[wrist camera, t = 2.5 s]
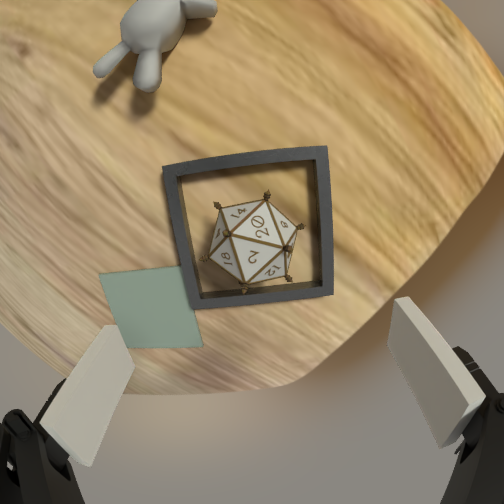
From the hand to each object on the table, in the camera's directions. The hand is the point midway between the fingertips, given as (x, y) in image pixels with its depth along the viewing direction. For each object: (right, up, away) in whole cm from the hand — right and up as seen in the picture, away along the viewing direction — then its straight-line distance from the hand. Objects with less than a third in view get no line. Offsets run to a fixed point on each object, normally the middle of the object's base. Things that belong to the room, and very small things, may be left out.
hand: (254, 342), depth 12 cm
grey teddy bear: (-9, +27, +9) cm, 30 cm away
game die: (0, +6, +16) cm, 18 cm away
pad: (-12, -3, +20) cm, 24 cm away
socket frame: (0, +6, +16) cm, 17 cm away
